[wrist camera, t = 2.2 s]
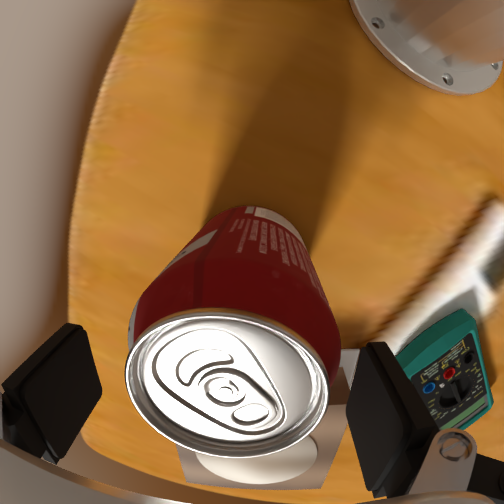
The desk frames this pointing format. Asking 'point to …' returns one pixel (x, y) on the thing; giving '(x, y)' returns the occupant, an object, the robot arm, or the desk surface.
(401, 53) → the robot arm
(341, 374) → the plinth
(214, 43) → the desk surface
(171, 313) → the soda can
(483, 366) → the digital multimeter
